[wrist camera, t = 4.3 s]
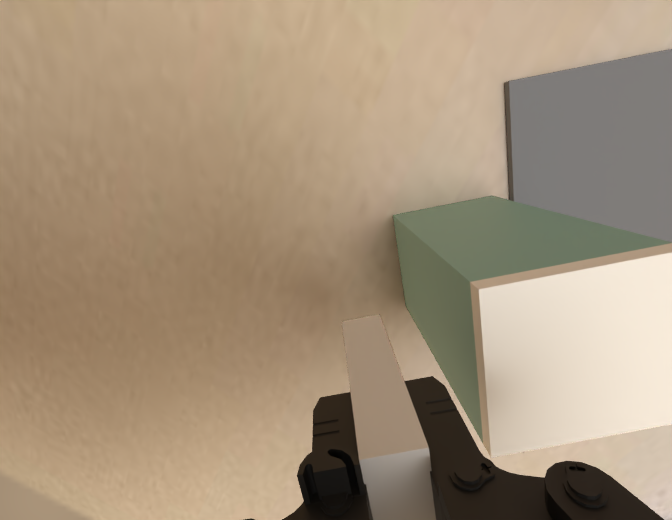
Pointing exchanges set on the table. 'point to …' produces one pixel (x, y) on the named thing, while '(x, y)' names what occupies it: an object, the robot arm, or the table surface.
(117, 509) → the table surface
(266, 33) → the table surface
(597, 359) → the block
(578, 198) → the mat
